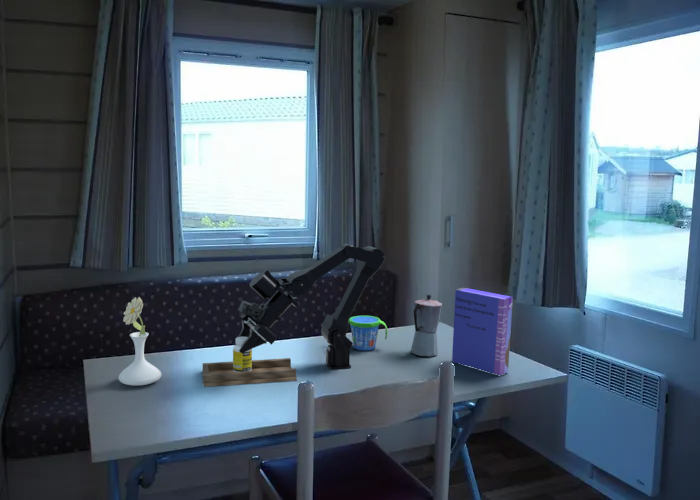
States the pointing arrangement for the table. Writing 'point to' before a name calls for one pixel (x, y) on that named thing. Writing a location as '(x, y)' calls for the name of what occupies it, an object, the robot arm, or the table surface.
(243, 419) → the table surface
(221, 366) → the walnut track
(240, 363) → the supplement bottle
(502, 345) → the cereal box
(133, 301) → the flower in vase
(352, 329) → the snack cup
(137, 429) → the table surface
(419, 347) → the moka pot
